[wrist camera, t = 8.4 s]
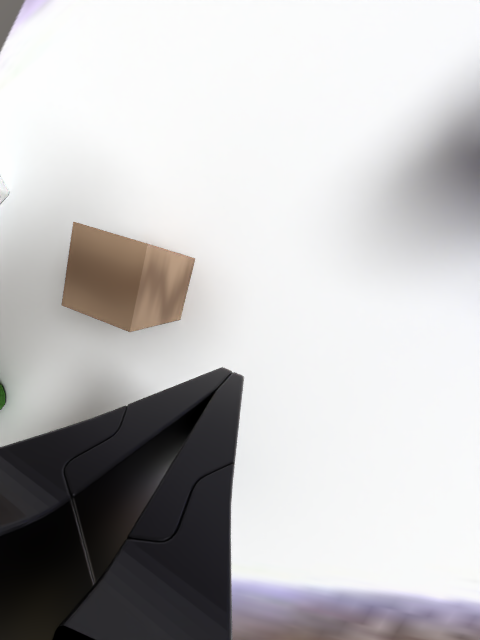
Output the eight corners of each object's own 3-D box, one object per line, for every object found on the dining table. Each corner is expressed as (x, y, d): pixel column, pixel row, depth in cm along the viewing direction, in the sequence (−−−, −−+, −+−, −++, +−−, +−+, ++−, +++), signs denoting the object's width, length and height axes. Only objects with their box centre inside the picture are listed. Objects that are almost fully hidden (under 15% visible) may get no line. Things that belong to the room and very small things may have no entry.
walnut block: (180, 319, 22) (129, 332, 16) (129, 301, 24) (61, 305, 17) (195, 258, 21) (147, 243, 15) (140, 242, 23) (73, 221, 16)
